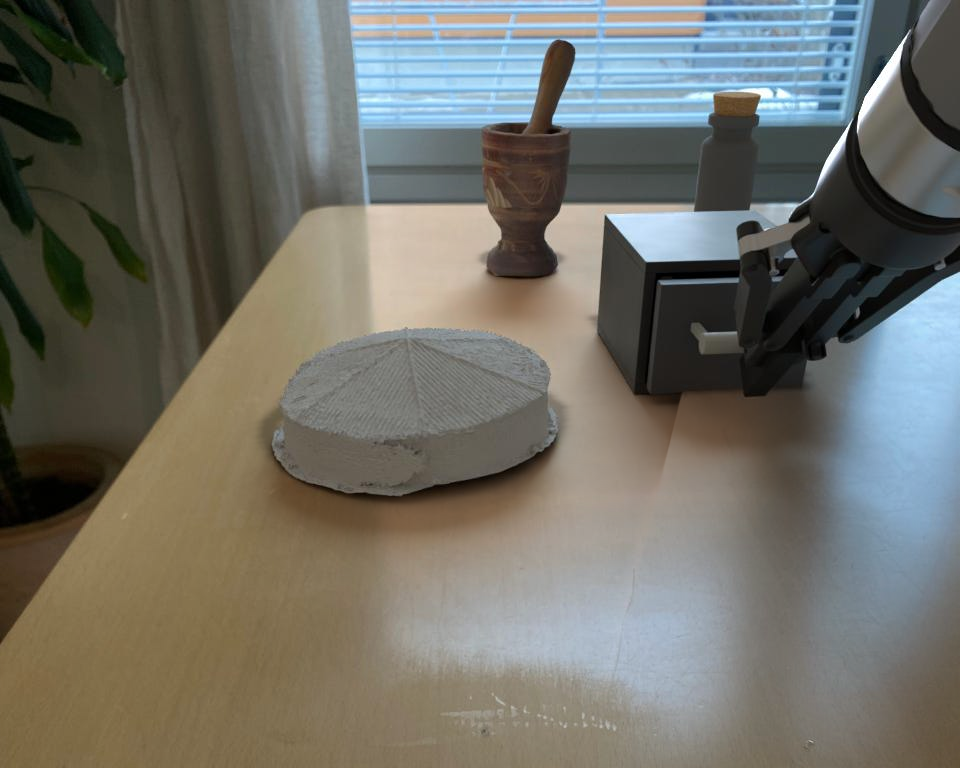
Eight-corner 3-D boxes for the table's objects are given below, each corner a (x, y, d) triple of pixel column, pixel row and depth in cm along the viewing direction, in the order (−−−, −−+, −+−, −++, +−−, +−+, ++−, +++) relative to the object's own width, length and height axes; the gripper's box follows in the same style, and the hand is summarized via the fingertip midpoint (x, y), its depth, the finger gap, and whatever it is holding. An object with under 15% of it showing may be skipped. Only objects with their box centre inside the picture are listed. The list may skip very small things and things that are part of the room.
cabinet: (796, 387, 74) (821, 256, 69) (633, 394, 73) (646, 262, 68) (737, 326, 86) (755, 210, 80) (596, 331, 85) (604, 214, 80)
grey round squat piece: (594, 488, 61) (601, 383, 57) (270, 514, 58) (254, 405, 54) (529, 374, 77) (531, 285, 73) (272, 390, 74) (260, 299, 70)
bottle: (726, 241, 110) (747, 89, 101) (753, 253, 106) (778, 96, 97) (679, 245, 109) (697, 91, 100) (705, 258, 104) (726, 99, 95)
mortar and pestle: (497, 248, 108) (499, 36, 96) (574, 253, 106) (585, 38, 95) (473, 277, 99) (471, 47, 87) (557, 282, 97) (567, 49, 85)
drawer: (823, 410, 68) (847, 297, 64) (664, 417, 68) (677, 303, 63) (744, 328, 83) (759, 232, 78) (612, 333, 82) (619, 235, 77)
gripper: (801, 231, 42) (663, 434, 65) (1088, 223, 43) (852, 426, 66) (780, 75, 43) (652, 329, 66) (1060, 71, 44) (837, 323, 67)
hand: (752, 377), depth 66 cm, fingers closed
